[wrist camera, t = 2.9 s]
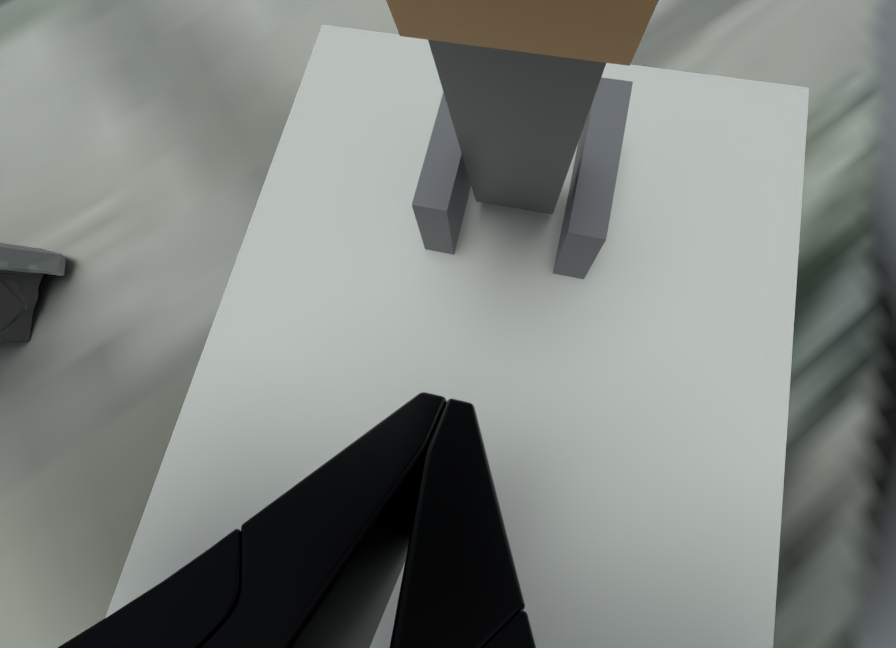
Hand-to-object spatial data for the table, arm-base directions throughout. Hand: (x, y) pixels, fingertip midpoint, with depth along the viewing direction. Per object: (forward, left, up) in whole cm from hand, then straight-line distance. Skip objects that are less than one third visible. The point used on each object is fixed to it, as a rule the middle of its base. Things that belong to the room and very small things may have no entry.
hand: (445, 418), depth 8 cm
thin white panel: (+3, -1, -10) cm, 11 cm away
